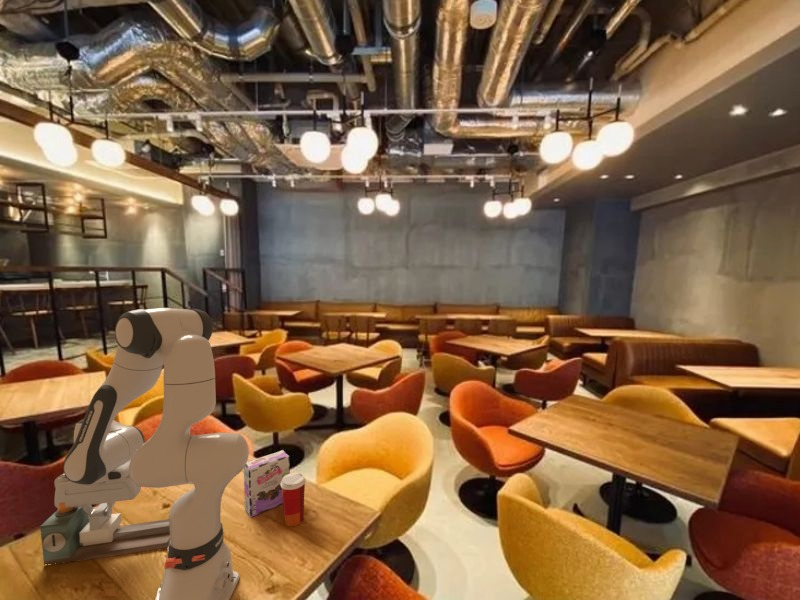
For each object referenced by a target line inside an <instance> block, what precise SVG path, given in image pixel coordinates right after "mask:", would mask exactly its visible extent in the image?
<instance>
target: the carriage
mask: <svg viewBox="0 0 800 600" xmlns="http://www.w3.org/2000/svg"><path fill="white" fill-rule="evenodd" d="M108 507H109V506H107V503H101V504H98V506H97V507H96V508H95V509H96V510H95V511H94V512H93V513H92V514H91V515H90V516H89V523H88V524H87V525H86V526H85V527H84V528H83V529H82V531H81V532H80V533H79V535H80V543H83V546H87V545H93V544H100V543H107V542H112V541H113V533H114V532H115V530H116V529H120V526H121V524H122V513H121V512H120V513H119V512H117V513H112V514H111V515H110V516H106V517H104V514H103V511H104V510H105V509H106V508H108Z"/></svg>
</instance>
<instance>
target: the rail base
mask: <svg viewBox="0 0 800 600" xmlns="http://www.w3.org/2000/svg"><path fill="white" fill-rule="evenodd" d="M88 523H89V519H88V514H87V513H86V512H85V511H84V510H83V508H82V506H77V507H75V508H74V509H72V510H71V511H69V512H66V513H58V509H57V510H56V511H55V512H54V513H52V514H51V516H50V517H48V518H47V519H46V520H45V521H44V522H43V523H42V524H40V527H39V528H40V536H41V537H40V539H41V549H42V558H43V559H42V561H43V566H44V565H45V564H47V565H48V564H55V563H56V565H59V564H58V563H62V564H64V563H63V562H69V563H71V562H70V561H75V562H79V561H78V560H82V561H86V559H88V560H93V559H94V558H95V559H100V558H107V557H108V558H109V557H113V556H114V557H115V556H119V555H126V554H132V553H139V552H146V551H151V550H152V551H153V550H157V549H166V547H167V548H168V545H169V540H170V527H169V518H167V519H166V518H165V519H160V520H153V521H146V522H145V521H144V522H139V523H138V522H137V523H132V524H123V525H120V529H116V530H115V532H114V533H113V541H112V542H107V543H100V544H93V545H87V546H83V543H80V535H79V533H80V532H81V531H82V529H83V528H84V527H85V526H86V525H87V524H88Z"/></svg>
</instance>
